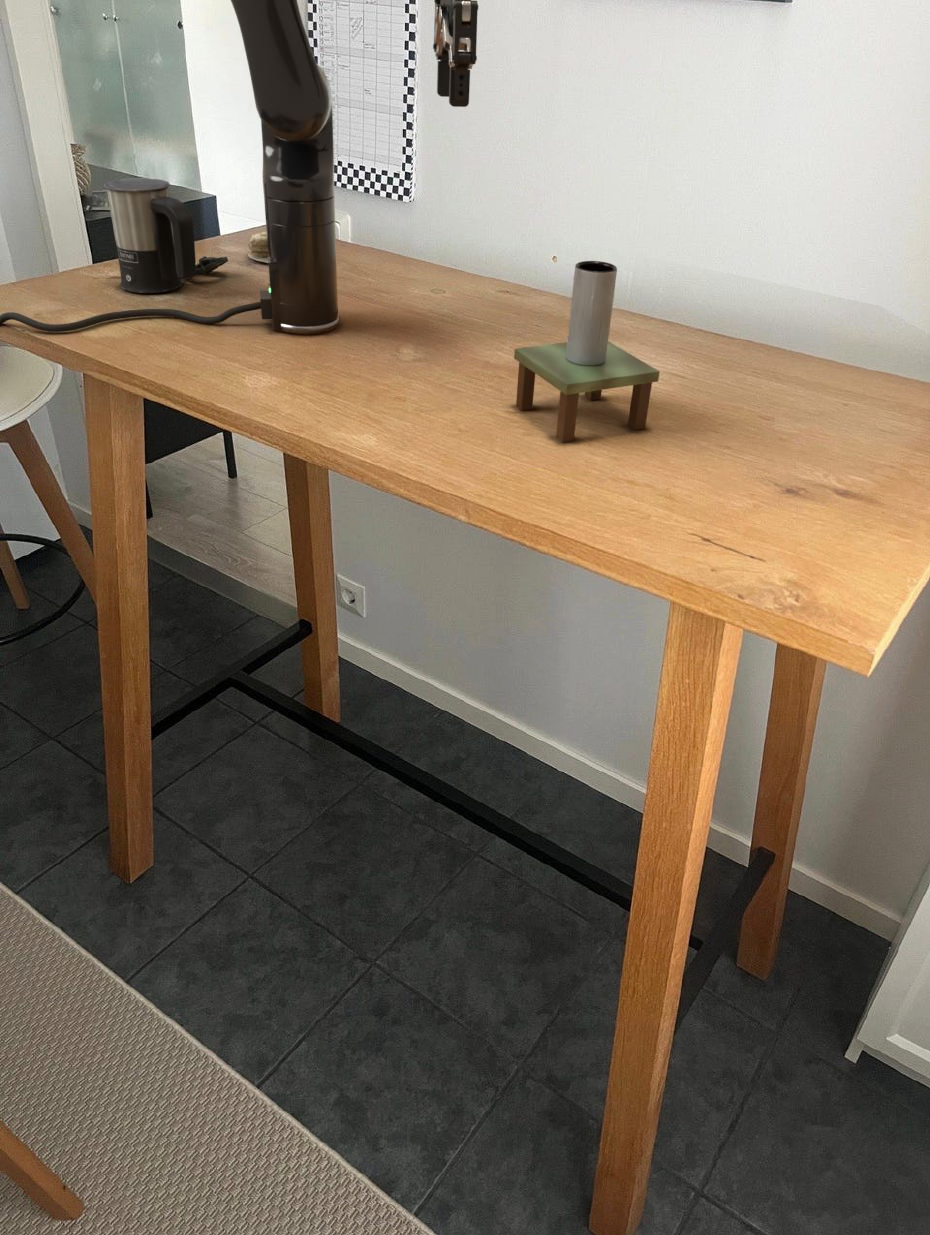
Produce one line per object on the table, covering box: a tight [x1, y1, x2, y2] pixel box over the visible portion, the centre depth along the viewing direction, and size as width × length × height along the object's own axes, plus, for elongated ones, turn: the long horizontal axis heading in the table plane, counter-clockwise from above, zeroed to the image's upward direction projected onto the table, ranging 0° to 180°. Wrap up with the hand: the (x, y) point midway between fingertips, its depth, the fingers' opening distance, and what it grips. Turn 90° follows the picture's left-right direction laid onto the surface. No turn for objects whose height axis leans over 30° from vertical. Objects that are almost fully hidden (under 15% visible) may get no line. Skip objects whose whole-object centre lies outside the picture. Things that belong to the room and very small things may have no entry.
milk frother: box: [103, 177, 229, 294], centre depth 150 cm, size 14×16×15 cm
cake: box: [246, 231, 268, 263], centre depth 167 cm, size 10×10×5 cm
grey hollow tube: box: [566, 260, 618, 366], centre depth 109 cm, size 4×4×10 cm
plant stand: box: [513, 340, 661, 443], centre depth 114 cm, size 12×12×7 cm
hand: (452, 101), depth 116 cm, fingers open, 8 cm apart
